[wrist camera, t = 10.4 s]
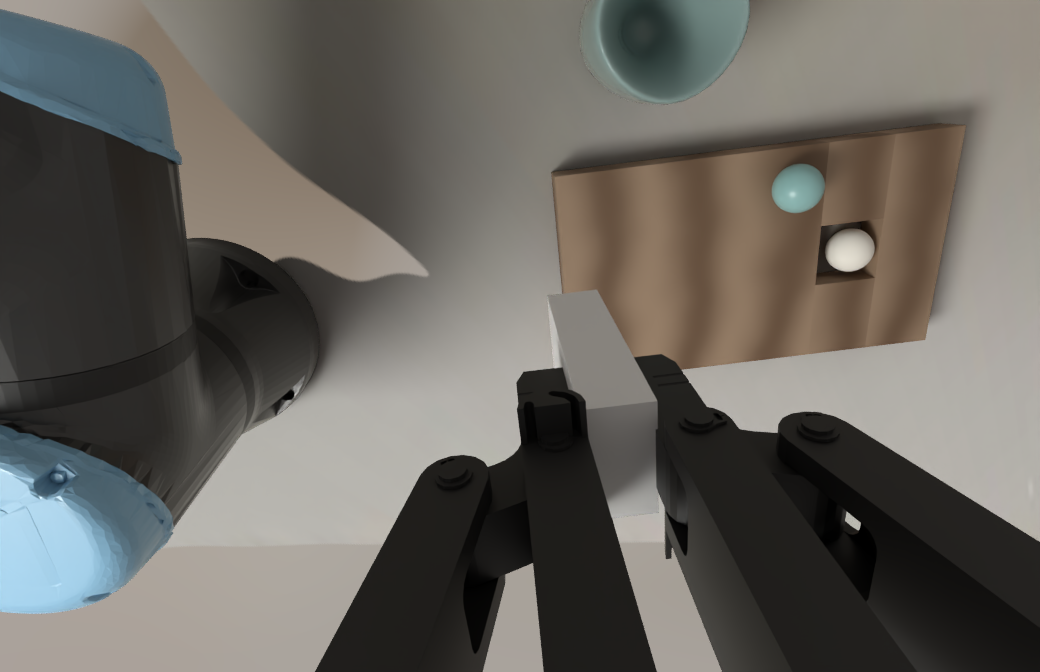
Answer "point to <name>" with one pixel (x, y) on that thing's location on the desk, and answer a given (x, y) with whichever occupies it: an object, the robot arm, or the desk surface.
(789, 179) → the teal ball
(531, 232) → the desk surface
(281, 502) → the desk surface
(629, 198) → the board
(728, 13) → the cup
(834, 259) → the ball
